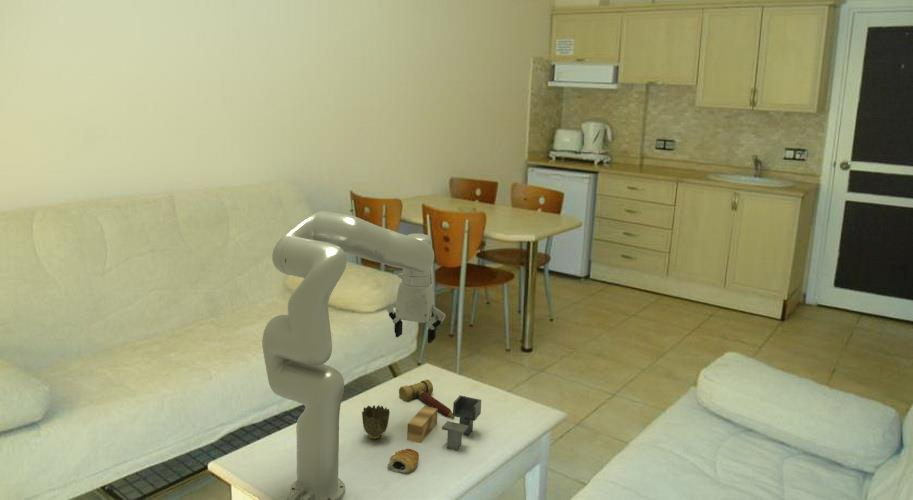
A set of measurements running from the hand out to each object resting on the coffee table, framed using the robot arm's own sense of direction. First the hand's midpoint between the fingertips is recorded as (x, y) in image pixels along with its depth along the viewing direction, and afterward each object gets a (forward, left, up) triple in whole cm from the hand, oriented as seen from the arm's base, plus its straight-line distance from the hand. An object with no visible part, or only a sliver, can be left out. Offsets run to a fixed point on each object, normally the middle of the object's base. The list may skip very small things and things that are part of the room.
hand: (414, 338), depth 198 cm
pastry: (-22, -8, -25) cm, 35 cm away
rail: (-4, -5, -25) cm, 26 cm away
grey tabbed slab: (-8, -16, -25) cm, 31 cm away
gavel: (+12, -1, -26) cm, 28 cm away
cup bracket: (+1, -16, -25) cm, 30 cm away
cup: (-13, +5, -25) cm, 29 cm away
